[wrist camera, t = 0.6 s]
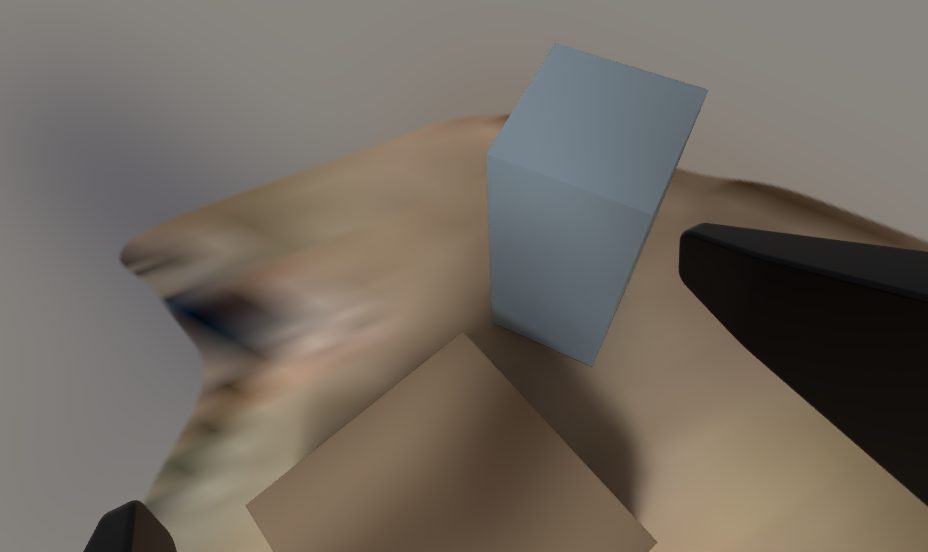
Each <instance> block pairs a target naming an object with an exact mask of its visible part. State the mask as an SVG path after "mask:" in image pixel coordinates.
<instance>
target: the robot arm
mask: <svg viewBox="0 0 928 552" xmlns="http://www.w3.org/2000/svg"><path fill="white" fill-rule="evenodd" d="M679 275H680V277H681V279H682V281H683V283H684V284H685V285H686V286H687V287H688V288H689V289H690V291H691V292H692V293H693V294H694V295H695V296H696V297H697V298H698V299H699V300H700V301H701V302H702V303H703V304H704V305H705V306H706V308H707V309H708V310H709V311H710V312H711V313H712V314H713V315H714V316H715V317H716V318H717V319H718V320H719V321H720V322H721V323H722V325H723V326H724V327H725V328H726V329H727V330H728V331H729V332H730V333H731V334H732V335H733V336H734V337H735V338H736V339H737V340H738V341H739V342H740V343H741V344H742V345H743V346H744V347H745V348H746V349H747V350H748V351H749V352H751V353H752V354H753V355H754V356H755V357H756V358H757V359H758V360H760V361H761V362H762V363H763V364H764V365H765V366H767V367H768V368H769V369H770V370H771V371H772V372H773V373H775V374H776V375H777V376H778V377H779V378H780V379H781V380H783V381H784V382H785V383H786V384H787V385H788V386H790V387H791V388H792V389H793V390H794V391H795V392H796V393H798V394H799V395H800V396H801V397H802V398H803V399H804V400H806V401H807V402H808V403H809V404H810V405H811V406H813V407H814V408H815V409H816V410H817V411H818V412H819V413H821V414H822V415H823V416H824V417H825V418H826V419H827V420H829V421H830V422H831V423H832V424H833V425H834V426H836V427H837V428H838V429H839V430H840V431H841V432H842V433H844V434H845V435H846V436H847V437H848V438H849V439H850V440H852V441H853V442H854V443H855V444H856V445H857V446H859V447H860V448H861V449H862V450H863V451H864V452H865V453H867V454H868V455H869V456H870V457H871V458H872V459H874V460H875V461H876V462H877V463H878V464H879V465H880V466H882V467H883V468H884V469H885V470H886V471H887V472H888V473H890V474H891V475H892V476H893V477H894V478H895V479H897V480H898V481H899V482H900V483H901V484H902V485H903V486H905V487H906V488H907V489H908V490H909V491H910V492H911V493H913V494H914V495H915V496H916V497H917V498H918V499H920V500H921V501H922V502H923V503H924V504H925V505H926V506H928V252H925V251H917V250H909V249H902V248H894V247H886V246H879V245H871V244H863V243H856V242H848V241H840V240H833V239H825V238H817V237H810V236H802V235H794V234H787V233H779V232H771V231H764V230H756V229H749V228H741V227H733V226H726V225H718V224H710V223H701V224H698V225H696V226H694V227H692V228H690V229H688V230H686V231H684V232H683V233H682V235H681V237H680V246H679ZM84 552H177V551H176V547H175V544H174V541H173V539H172V537H171V535H170V533H169V532H168V531H167V529H166V528H165V527H164V526H163V525H162V524H161V523H160V522H159V520H158V519H157V518H156V517H155V516H154V515H153V514H152V513H151V512H150V510H149V509H148V508H147V507H146V506H145V505H144V504H143V503H142V502H140V501H137V500H134V501H130V502H128V503H126V504H124V505H122V506H120V507H118V508H116V509H114V510H112V511H110V512H108V513H106V514H105V515H104V516H103V517H102V518H101V520H100V521H99V523H98V525H97V527H96V529H95V531H94V533H93V535H92V536H91V538H90V540H89V542H88V544H87V546H86V548H85V550H84Z"/></svg>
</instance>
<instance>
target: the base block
mask: <svg viewBox="0 0 928 552" xmlns="http://www.w3.org/2000/svg"><path fill="white" fill-rule="evenodd" d="M245 506H246V508H247V509H248V511H249V512H250V514H251V516H252V517H253V519H254V521H255V522H256V524H257V526H258V527H259V529H260V530H261V532H262V534H263V535H264V537H265V539H266V540H267V542H268V543H269V545H270V547H271V548H272V550H273V552H649V551H650V550H651V549H652V548H653V546H654V545H655V544H656V543H657V541H656V540H655V539H654V538H653V537H652V536H651V535H650V534H649V532H648V531H647V530H646V529H645V528H644V527H643V526H642V525H641V524H640V523H639V522H638V521H637V519H636V518H635V517H634V516H633V515H632V514H631V513H630V512H629V511H628V510H627V509H626V508H625V506H624V505H623V504H622V503H621V502H620V501H619V500H618V499H617V498H616V497H615V496H614V494H613V493H612V492H611V491H610V490H609V489H608V488H607V487H606V486H605V485H604V484H603V483H602V481H601V480H600V479H599V478H598V477H597V476H596V475H595V474H594V473H593V472H592V471H591V470H590V468H589V467H588V466H587V465H586V464H585V463H584V462H583V461H582V460H581V459H580V458H579V457H578V455H577V454H576V453H575V452H574V451H573V450H572V449H571V448H570V447H569V446H568V445H567V443H566V442H565V441H564V440H563V439H562V438H561V437H560V436H559V435H558V434H557V433H556V432H555V430H554V429H553V428H552V427H551V426H550V425H549V424H548V423H547V422H546V421H545V420H544V419H543V417H542V416H541V415H540V414H539V413H538V412H537V411H536V410H535V409H534V408H533V407H532V405H531V404H530V403H529V402H528V401H527V400H526V399H525V398H524V397H523V396H522V395H521V394H520V392H519V391H518V390H517V389H516V388H515V387H514V386H513V385H512V384H511V383H510V382H509V381H508V379H507V378H506V377H505V376H504V375H503V374H502V373H501V372H500V371H499V370H498V369H497V367H496V366H495V365H494V364H493V363H492V362H491V361H490V360H489V359H488V358H487V357H486V356H485V354H484V353H483V352H482V351H481V350H480V349H479V348H478V347H477V346H476V345H475V344H474V343H473V341H472V340H471V339H470V338H469V337H468V336H467V335H466V334H465V333H464V332H461V333H460V334H459V335H458V336H456V337H455V338H454V339H453V340H451V341H450V342H449V343H448V344H446V345H445V346H444V347H443V348H441V349H440V350H439V351H438V352H436V353H435V354H434V355H433V356H431V357H430V358H429V359H428V360H426V361H425V362H424V363H423V364H421V365H420V366H419V367H418V368H416V369H415V370H414V371H413V372H411V373H410V374H409V375H408V376H406V377H405V378H404V379H403V380H401V381H400V382H399V383H398V384H397V385H395V386H394V387H393V388H392V389H390V390H389V391H388V392H387V393H385V394H384V395H383V396H382V397H380V398H379V399H378V400H377V401H375V402H374V403H373V404H372V405H370V406H369V407H368V408H367V409H365V410H364V411H363V412H362V413H360V414H359V415H358V416H357V417H355V418H354V419H353V420H352V421H350V422H349V423H348V424H347V425H345V426H344V427H343V428H342V429H340V430H339V431H338V432H337V433H335V434H334V435H333V436H332V437H330V438H329V439H328V440H327V441H325V442H324V443H323V444H322V445H320V446H319V447H318V448H317V449H315V450H314V451H313V452H312V453H310V454H309V455H308V456H307V457H305V458H304V459H303V460H302V461H300V462H299V463H298V464H297V465H295V466H294V467H293V468H292V469H290V470H289V471H288V472H287V473H285V474H284V475H283V476H282V477H280V478H279V479H278V480H277V481H275V482H274V483H273V484H272V485H270V486H269V487H268V488H267V489H265V490H264V491H263V492H262V493H260V494H259V495H258V496H257V497H255V498H254V499H253V500H252V501H250V502H249V503H248V504H247V505H245Z"/></svg>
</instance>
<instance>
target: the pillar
mask: <svg viewBox="0 0 928 552" xmlns="http://www.w3.org/2000/svg"><path fill="white" fill-rule="evenodd" d="M707 92H708V90H707V89H704V88H701V87H697V86H694V85H691V84H687V83H684V82H681V81H677V80H674V79H671V78H668V77H664V76H661V75H658V74H654V73H651V72H647V71H644V70H641V69H637V68H634V67H631V66H628V65H624V64H621V63H618V62H615V61H611V60H608V59H604V58H601V57H598V56H594V55H591V54H588V53H584V52H581V51H578V50H575V49H571V48H568V47H565V46H561V45H558V44H554V46H553V47H552V49H551V50H550V52H549V54H548V55H547V57H546V58H545V60H544V62H543V63H542V65H541V66H540V68H539V70H538V71H537V73H536V75H535V76H534V78H533V80H532V81H531V83H530V84H529V86H528V87H527V89H526V91H525V92H524V94H523V96H522V97H521V99H520V100H519V102H518V104H517V105H516V107H515V108H514V110H513V112H512V113H511V115H510V116H509V118H508V120H507V121H506V123H505V124H504V126H503V128H502V129H501V131H500V133H499V134H498V136H497V137H496V139H495V141H494V142H493V144H492V145H491V147H490V149H489V150H488V152H487V153H486V161H487V189H488V218H489V247H490V276H491V305H492V322H493V323H495V324H497V325H500V326H502V327H504V328H506V329H509V330H511V331H513V332H515V333H518V334H520V335H522V336H524V337H527V338H529V339H531V340H533V341H535V342H538V343H540V344H542V345H544V346H547V347H549V348H551V349H553V350H556V351H558V352H560V353H562V354H564V355H567V356H569V357H571V358H573V359H576V360H578V361H580V362H582V363H585V364H587V365H589V366H591V367H592V365H593V363H594V360H595V358H596V356H597V353H598V351H599V349H600V347H601V344H602V342H603V340H604V337H605V335H606V333H607V330H608V328H609V326H610V324H611V321H612V319H613V317H614V314H615V312H616V310H617V307H618V305H619V303H620V301H621V298H622V296H623V294H624V291H625V289H626V287H627V285H628V282H629V280H630V278H631V275H632V273H633V270H634V268H635V266H636V263H637V261H638V258H639V256H640V253H641V251H642V249H643V246H644V244H645V241H646V239H647V237H648V234H649V232H650V229H651V227H652V225H653V222H654V220H655V217H656V215H657V213H658V210H659V208H660V205H661V203H662V200H663V198H664V196H665V193H666V191H667V188H668V186H669V184H670V181H671V179H672V176H673V174H674V172H675V169H676V167H677V164H678V162H679V159H680V157H681V154H682V152H683V150H684V147H685V145H686V142H687V140H688V138H689V135H690V133H691V130H692V128H693V126H694V123H695V121H696V118H697V116H698V114H699V111H700V109H701V106H702V104H703V101H704V99H705V97H706V94H707Z"/></svg>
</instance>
